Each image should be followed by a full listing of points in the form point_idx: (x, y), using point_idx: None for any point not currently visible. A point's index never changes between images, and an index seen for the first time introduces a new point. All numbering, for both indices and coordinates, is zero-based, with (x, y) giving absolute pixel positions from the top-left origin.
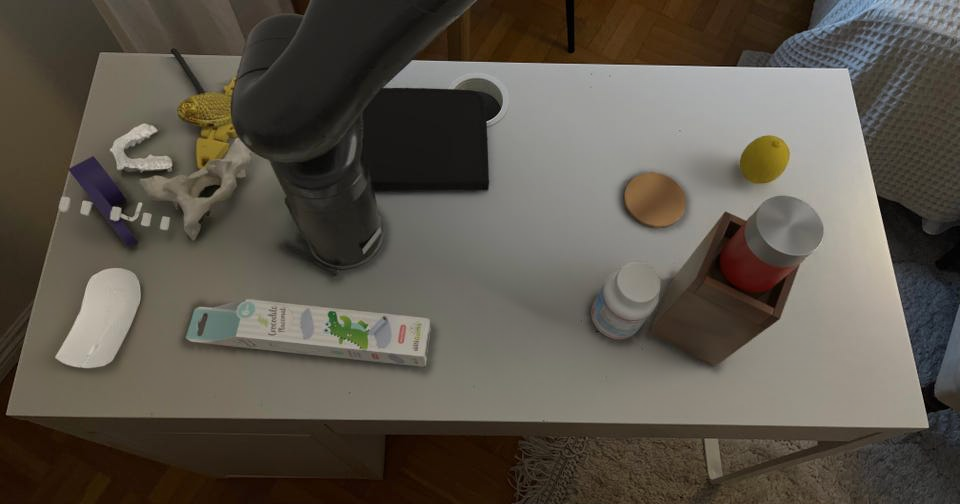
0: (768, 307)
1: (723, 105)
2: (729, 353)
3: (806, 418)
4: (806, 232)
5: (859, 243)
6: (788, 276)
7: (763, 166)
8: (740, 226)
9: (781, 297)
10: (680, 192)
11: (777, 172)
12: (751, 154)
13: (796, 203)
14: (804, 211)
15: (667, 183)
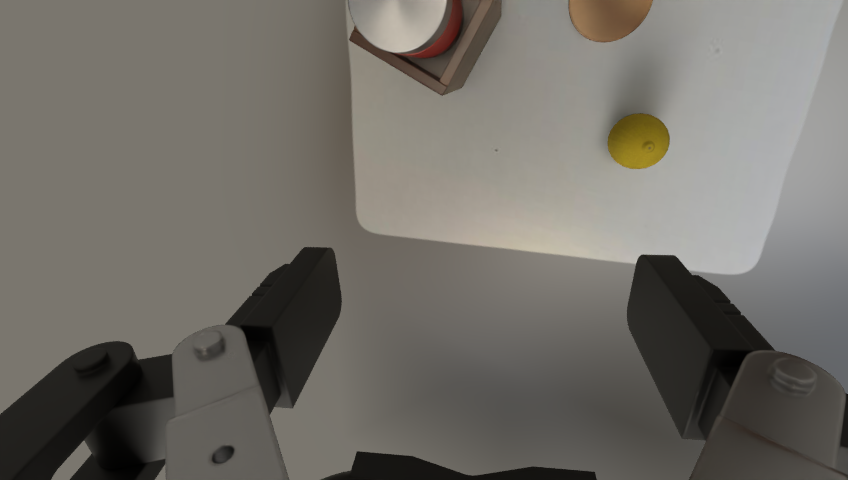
0: None
1: (747, 121)
2: None
3: (354, 134)
4: (384, 21)
5: (527, 233)
6: (403, 62)
7: (622, 131)
8: (477, 8)
9: (376, 47)
10: (615, 35)
11: (613, 150)
12: (643, 119)
13: (433, 15)
14: (420, 26)
15: (632, 18)
